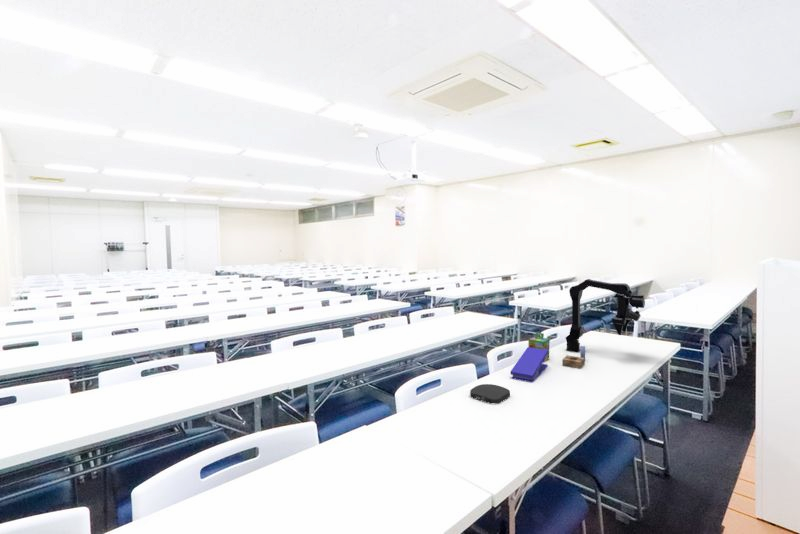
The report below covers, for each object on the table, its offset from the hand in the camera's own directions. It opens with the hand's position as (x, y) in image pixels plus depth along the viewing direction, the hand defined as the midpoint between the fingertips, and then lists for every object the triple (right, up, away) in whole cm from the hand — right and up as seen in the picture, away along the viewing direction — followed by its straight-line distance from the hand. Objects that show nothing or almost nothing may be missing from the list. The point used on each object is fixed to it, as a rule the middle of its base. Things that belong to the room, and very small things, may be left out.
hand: (622, 333), depth 218 cm
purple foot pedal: (-58, -17, -18) cm, 63 cm away
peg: (-23, -15, -2) cm, 27 cm away
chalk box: (-46, -15, +4) cm, 48 cm away
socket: (-31, -16, -9) cm, 36 cm away
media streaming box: (-85, -20, -47) cm, 100 cm away
